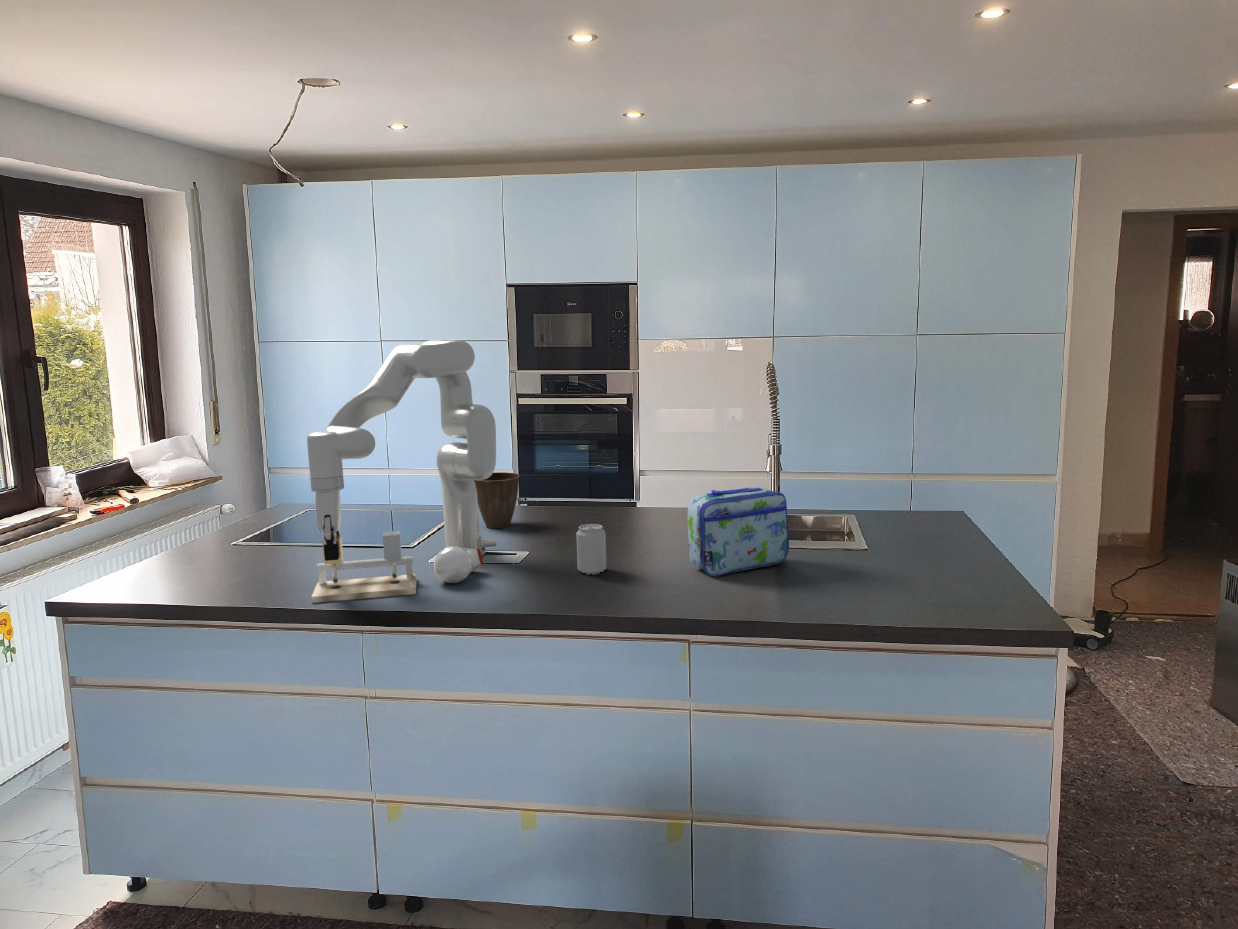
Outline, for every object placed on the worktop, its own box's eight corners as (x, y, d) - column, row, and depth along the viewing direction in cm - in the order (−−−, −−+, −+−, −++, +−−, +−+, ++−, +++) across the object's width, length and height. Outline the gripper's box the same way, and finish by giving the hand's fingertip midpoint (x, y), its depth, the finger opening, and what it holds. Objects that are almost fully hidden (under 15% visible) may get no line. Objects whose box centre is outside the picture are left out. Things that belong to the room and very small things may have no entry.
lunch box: (702, 580, 218) (701, 497, 214) (683, 569, 228) (682, 489, 224) (792, 567, 227) (793, 487, 224) (771, 556, 237) (771, 480, 233)
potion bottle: (438, 593, 217) (468, 583, 231) (466, 573, 214) (495, 563, 228) (419, 562, 218) (450, 553, 232) (447, 541, 215) (477, 533, 229)
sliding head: (346, 576, 219) (342, 532, 217) (343, 585, 213) (339, 539, 211) (329, 578, 219) (325, 533, 217) (326, 586, 212) (322, 540, 210)
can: (581, 576, 223) (579, 530, 221) (574, 568, 230) (573, 524, 228) (609, 573, 225) (608, 528, 223) (602, 565, 232) (601, 521, 230)
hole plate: (416, 579, 224) (416, 573, 224) (415, 594, 213) (415, 587, 212) (318, 587, 219) (317, 581, 219) (311, 603, 208) (311, 596, 208)
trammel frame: (414, 575, 223) (410, 527, 221) (413, 583, 216) (410, 534, 214) (319, 583, 218) (314, 534, 216) (315, 591, 212) (311, 541, 209)
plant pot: (468, 523, 282) (466, 474, 280) (513, 518, 289) (510, 470, 286) (481, 533, 269) (479, 482, 266) (528, 527, 275) (525, 477, 272)
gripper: (315, 477, 217) (321, 548, 221) (305, 491, 201) (312, 567, 204) (347, 475, 219) (352, 546, 222) (340, 489, 202) (346, 564, 206)
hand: (333, 555), depth 213 cm, fingers open, 5 cm apart
